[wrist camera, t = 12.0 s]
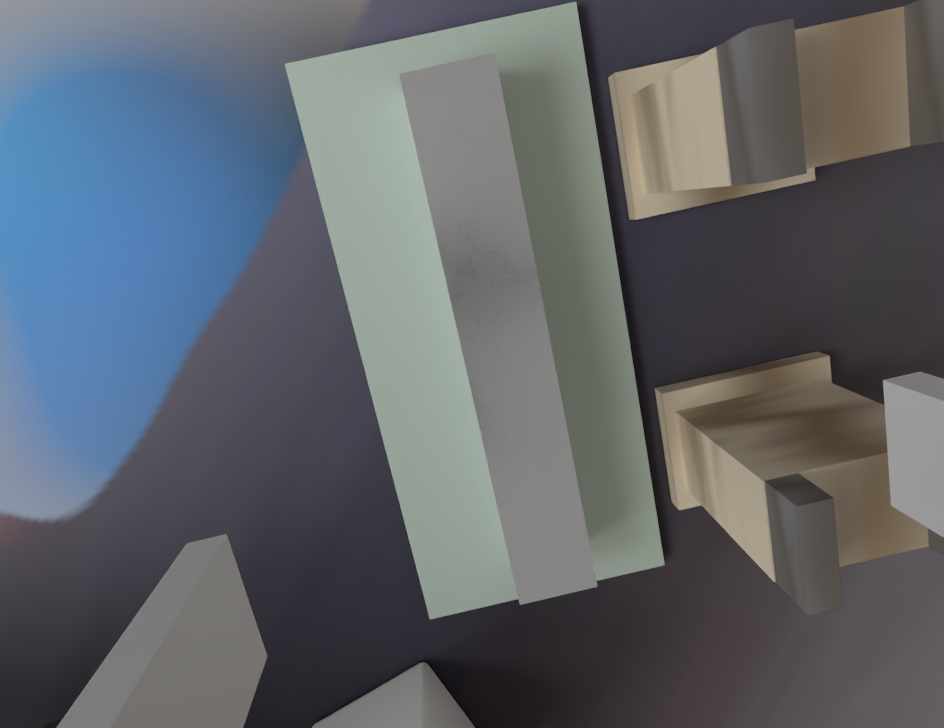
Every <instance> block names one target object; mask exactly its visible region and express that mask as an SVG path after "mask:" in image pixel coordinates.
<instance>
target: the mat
mask: <svg viewBox="0 0 944 728" xmlns="http://www.w3.org/2000/svg"><path fill="white" fill-rule="evenodd" d="M491 53H495V57H496V62H497V67H498V72H499V77H500V83H501V88H502V93H503V98H504V103H505V108H506V114H507V119H508V124H509V129H510V134H511V140H512V145H513V150H514V155H515V160H516V166H517V171H518V176H519V181H520V186H521V191H522V197H523V202H524V207H525V212H526V217H527V223H528V228H529V233H530V238H531V243H532V248H533V254H534V259H535V264H536V269H537V274H538V280H539V285H540V290H541V295H542V300H543V306H544V311H545V316H546V321H547V326H548V331H549V337H550V342H551V347H552V352H553V357H554V363H555V368H556V373H557V378H558V383H559V389H560V394H561V399H562V404H563V409H564V414H565V420H566V425H567V430H568V435H569V440H570V446H571V451H572V456H573V461H574V466H575V472H576V477H577V482H578V487H579V492H580V497H581V503H582V508H583V513H584V518H585V523H586V529H587V534H588V539H589V544H590V549H591V555H592V560H593V565H594V570H595V575H596V580H597V581H598V580H603V579H607V578H611V577H616V576H620V575H624V574H629V573H633V572H637V571H641V570H646V569H650V568H654V567H659V566H663V565H665V564H664V558H663V551H662V545H661V538H660V532H659V526H658V519H657V513H656V507H655V500H654V494H653V487H652V481H651V475H650V468H649V462H648V456H647V449H646V443H645V437H644V430H643V424H642V417H641V411H640V405H639V398H638V392H637V386H636V379H635V373H634V366H633V360H632V354H631V347H630V341H629V335H628V328H627V322H626V315H625V309H624V303H623V296H622V290H621V284H620V277H619V271H618V265H617V258H616V252H615V245H614V239H613V233H612V226H611V220H610V214H609V207H608V201H607V194H606V188H605V182H604V175H603V169H602V163H601V156H600V150H599V144H598V137H597V131H596V124H595V118H594V112H593V105H592V99H591V93H590V86H589V80H588V73H587V67H586V61H585V54H584V48H583V42H582V35H581V29H580V22H579V16H578V10H577V3H576V2H572V3H567V4H563V5H558V6H553V7H549V8H544V9H539V10H535V11H530V12H525V13H521V14H516V15H511V16H507V17H502V18H497V19H493V20H488V21H483V22H479V23H474V24H469V25H464V26H460V27H455V28H450V29H446V30H441V31H436V32H432V33H427V34H422V35H418V36H413V37H408V38H404V39H399V40H394V41H390V42H385V43H380V44H376V45H371V46H366V47H362V48H357V49H352V50H348V51H343V52H338V53H334V54H329V55H325V56H320V57H315V58H311V59H306V60H301V61H296V62H292V63H287V64H285V67H286V71H287V75H288V79H289V82H290V86H291V90H292V94H293V97H294V102H295V105H296V109H297V113H298V117H299V121H300V125H301V128H302V132H303V136H304V140H305V144H306V147H307V151H308V155H309V159H310V163H311V167H312V170H313V174H314V178H315V182H316V186H317V190H318V193H319V197H320V201H321V205H322V209H323V213H324V216H325V220H326V224H327V228H328V232H329V235H330V239H331V243H332V247H333V251H334V255H335V258H336V262H337V266H338V270H339V274H340V278H341V281H342V285H343V289H344V293H345V297H346V301H347V304H348V308H349V312H350V316H351V320H352V323H353V327H354V331H355V335H356V339H357V343H358V346H359V350H360V354H361V358H362V362H363V366H364V369H365V373H366V377H367V381H368V385H369V389H370V392H371V396H372V400H373V404H374V408H375V411H376V415H377V419H378V423H379V427H380V431H381V434H382V438H383V442H384V446H385V450H386V454H387V457H388V461H389V465H390V469H391V473H392V476H393V480H394V484H395V488H396V492H397V496H398V499H399V503H400V507H401V511H402V515H403V519H404V522H405V526H406V530H407V534H408V538H409V542H410V545H411V549H412V553H413V557H414V561H415V564H416V568H417V572H418V576H419V580H420V584H421V587H422V591H423V595H424V599H425V603H426V607H427V610H428V614H429V618H430V619H434V618H439V617H443V616H447V615H451V614H456V613H460V612H464V611H469V610H473V609H477V608H482V607H486V606H490V605H495V604H499V603H503V602H508V601H512V600H516V599H518V595H517V591H516V587H515V583H514V579H513V574H512V570H511V566H510V562H509V557H508V553H507V549H506V544H505V540H504V536H503V531H502V527H501V522H500V518H499V514H498V509H497V505H496V500H495V496H494V492H493V487H492V483H491V478H490V474H489V470H488V465H487V461H486V457H485V452H484V448H483V443H482V439H481V435H480V430H479V426H478V421H477V417H476V413H475V408H474V404H473V399H472V395H471V391H470V386H469V382H468V377H467V373H466V369H465V364H464V360H463V356H462V351H461V347H460V342H459V338H458V334H457V329H456V325H455V320H454V316H453V312H452V307H451V303H450V298H449V294H448V290H447V285H446V281H445V277H444V272H443V268H442V263H441V259H440V255H439V250H438V246H437V241H436V237H435V233H434V228H433V224H432V219H431V215H430V211H429V206H428V202H427V197H426V193H425V189H424V184H423V180H422V176H421V171H420V167H419V162H418V158H417V154H416V149H415V145H414V140H413V136H412V132H411V127H410V123H409V118H408V114H407V110H406V105H405V101H404V97H403V92H402V87H401V82H400V76H399V74H401V73H405V72H410V71H414V70H419V69H423V68H428V67H432V66H437V65H441V64H446V63H450V62H455V61H459V60H464V59H469V58H473V57H478V56H482V55H487V54H491Z"/></svg>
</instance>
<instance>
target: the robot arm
mask: <svg viewBox="0 0 944 728" xmlns="http://www.w3.org/2000/svg"><path fill="white" fill-rule="evenodd" d="M883 389H884V404H885V420H886V435H887V451H888V466H889V482H890V497H891V506H892V507H894V508H896V509H897V510H899V511H901V512H902V513H904V514H906V515H907V516H909V517H911V518H912V519H914V520H915V521H917V522H919V523H920V524H922V525H924V526H925V527H927V528H929V529H930V530H932V531H934V532H935V533H937V534H939V535H940V536H942V537H944V379H943V378H939V377H936V376H933V375H929V374H926V373H923V372H916V373H912V374H907V375H903V376H899V377H894V378H890V379H886V380H883ZM266 659H267V654H266V651H265V648H264V645H263V642H262V639H261V636H260V633H259V630H258V627H257V624H256V621H255V618H254V615H253V612H252V609H251V606H250V603H249V600H248V597H247V594H246V591H245V588H244V585H243V582H242V579H241V576H240V573H239V570H238V567H237V564H236V561H235V558H234V555H233V552H232V549H231V546H230V543H229V540H228V537H227V534H225V535H220V536H216V537H212V538H208V539H203V540H199V541H195V542H191V543H187V544H186V545H185V547H184V548H183V549H182V551H181V552H180V554H179V555H178V556H177V558H176V559H175V561H174V562H173V563H172V565H171V566H170V568H169V569H168V571H167V572H166V573H165V575H164V576H163V578H162V579H161V580H160V582H159V583H158V585H157V586H156V588H155V589H154V590H153V592H152V593H151V595H150V596H149V597H148V599H147V600H146V602H145V603H144V604H143V606H142V607H141V609H140V610H139V612H138V613H137V614H136V616H135V617H134V619H133V620H132V621H131V623H130V624H129V626H128V627H127V629H126V630H125V631H124V633H123V634H122V636H121V637H120V638H119V640H118V641H117V643H116V644H115V645H114V647H113V648H112V650H111V651H110V653H109V654H108V655H107V657H106V658H105V660H104V661H103V662H102V664H101V665H100V667H99V668H98V670H97V671H96V672H95V674H94V675H93V677H92V678H91V679H90V681H89V682H88V684H87V685H86V686H85V688H84V689H83V691H82V692H81V694H80V695H79V696H78V698H77V699H76V701H75V702H74V703H73V705H72V706H71V708H70V709H69V711H68V712H67V713H66V715H65V716H64V718H63V719H62V720H59V721H55V722H50V723H47V724H46V725H45V726H44V727H43V728H243V727H244V724H245V721H246V718H247V715H248V712H249V709H250V706H251V703H252V700H253V697H254V694H255V691H256V688H257V685H258V683H259V680H260V677H261V674H262V671H263V668H264V665H265V662H266Z"/></svg>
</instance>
